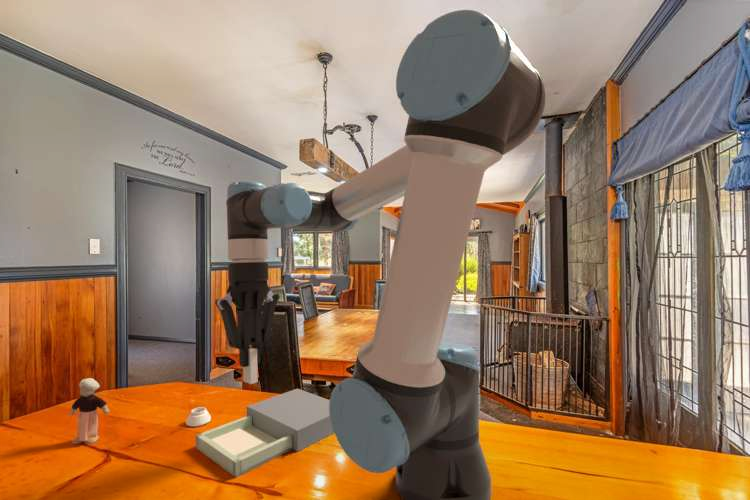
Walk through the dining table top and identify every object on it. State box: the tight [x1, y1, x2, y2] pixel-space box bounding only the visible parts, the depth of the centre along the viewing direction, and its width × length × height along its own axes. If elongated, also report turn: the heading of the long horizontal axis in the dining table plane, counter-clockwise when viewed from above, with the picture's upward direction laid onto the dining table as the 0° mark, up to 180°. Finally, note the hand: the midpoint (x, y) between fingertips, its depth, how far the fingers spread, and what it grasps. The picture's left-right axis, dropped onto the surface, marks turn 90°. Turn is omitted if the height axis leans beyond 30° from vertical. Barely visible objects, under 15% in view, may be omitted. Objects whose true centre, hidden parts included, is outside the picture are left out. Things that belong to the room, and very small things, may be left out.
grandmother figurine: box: [69, 377, 110, 445], centre depth 76 cm, size 8×4×13 cm, turn 102°
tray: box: [195, 415, 293, 478], centre depth 72 cm, size 15×12×2 cm
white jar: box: [185, 406, 212, 427], centre depth 84 cm, size 5×3×5 cm
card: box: [211, 428, 264, 458], centre depth 71 cm, size 9×6×1 cm, turn 49°
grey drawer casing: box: [246, 388, 335, 452], centre depth 82 cm, size 18×14×4 cm
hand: (250, 381), depth 73 cm, fingers closed
